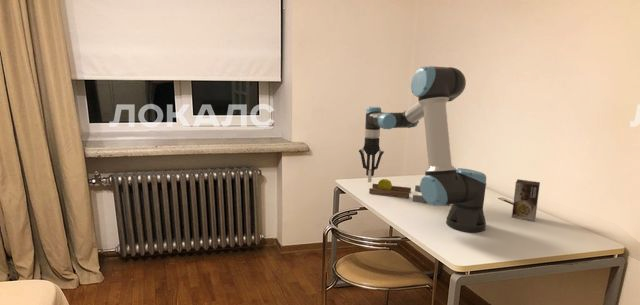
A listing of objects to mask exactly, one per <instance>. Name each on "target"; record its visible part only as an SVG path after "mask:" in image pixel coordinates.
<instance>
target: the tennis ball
mask: <svg viewBox="0 0 640 305" xmlns="http://www.w3.org/2000/svg"><path fill="white" fill-rule="evenodd" d="M377 184H378V189H381V190H391V188H392V186H393V185H392V184H393V183H392V182H391V181H390V180H389V179H388V178H382V179H380V180H379V181H378V183H377Z"/></svg>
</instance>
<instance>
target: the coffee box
mask: <svg viewBox="0 0 640 305" xmlns="http://www.w3.org/2000/svg"><path fill="white" fill-rule="evenodd" d="M540 186H541V182H540V181H532V180H524V179H519V178H518V179H516V182H515V188H514V196H513V203H512V204H513V205H512V212H511V218H514V219H520V220H525V221H530V222H535V221H536V218H537V217H536V216H537V210H538V209H537V208H538V203H539V202H538V200H539V195H540V194H539V192H540Z"/></svg>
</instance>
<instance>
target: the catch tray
mask: <svg viewBox="0 0 640 305" xmlns="http://www.w3.org/2000/svg"><path fill="white" fill-rule="evenodd" d="M414 192H419V193H421V190H420V184H419V185H417V184H415V186H414ZM412 202H415V203H416V202H417V203H423V204H424V203H426V204H429V203H428V202H427V201H426V200H425V199H424V198H423V196H422V194H412ZM445 206H450V204H446V205H445Z"/></svg>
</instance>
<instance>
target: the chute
mask: <svg viewBox="0 0 640 305" xmlns="http://www.w3.org/2000/svg"><path fill="white" fill-rule="evenodd" d="M371 187H372V188H371ZM371 187H369V189H368V190H369V191H368V194H369V195H379V196H387V197H396V198H403V199H410V194H411V192H412V187H407V186H400V185H397V186H396V185H392V188H391V190H381V189H378V183H372V185H371Z"/></svg>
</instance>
